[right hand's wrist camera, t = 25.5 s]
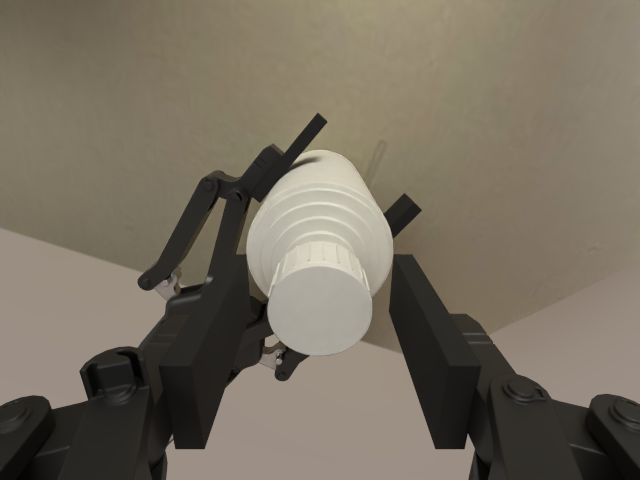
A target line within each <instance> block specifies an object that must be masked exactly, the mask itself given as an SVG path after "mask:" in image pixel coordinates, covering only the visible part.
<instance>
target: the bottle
mask: <svg viewBox="0 0 640 480" xmlns="http://www.w3.org/2000/svg"><path fill="white" fill-rule="evenodd" d="M310 241H311V242H315V241H325V242H331V243H335V244H336V243H337V244H338V245H340V246H342V247H344V248H346V249H347V250H348V249H349V250H350V252H351V253H352V254H353V255H354V256H355V257H356V258H358V259H359V262H360V264H361V266H362V269H364V270H365V274H366V277H367V281H368V285H369V288H370V296H371V298H372V297H373V296H374V295H375V294H376V293H377V291H378V290H379V289H380V288H381V286H382V285H383V283H384V282H385V280H386V278H387V276H388V274H389V271H390V268H391V265H392V260H393V238H392V234H391V230H390V227H389V225H388V223H387V220H386V218H385V217H384V215H383V213H382V212H381V210H380V208H379V207H378V205H377V203H376V201H375V200H374V198H373V196H372V195H371V193H370V191H369V190H368V188H367V186H366V185H365V183H364V181H363V179H362V178H361V176H360V174H359V173H358V171H357V169H356V168H355V167H354V165H353V164H352V163H351V162H350V161H349V160H348V159H346V158H345V157H343V156H342V155H340V154H338V153H335V152H332V151H328V150H312V151H308V152H305V153H302V154H300V155H299V157H298V158H297V159H296V160H295V161H294V163H293V164H292V165H291V166H290V167H289V169H288V170H287V171H286V172H285V173H284V175H283V176H282V177H281V178H280V179H279V181H278V182H277V183H276V184H275V185H274V186H273V188H272V189H271V191H270V193H269V194H268V196H267V198H266V199H265V201H264V203H263V204H262V206H261V208H260V209H259V211H258V213H257V214H256V216H255V218H254V220H253V222H252V224H251V226H250V229H249V233H248V237H247V244H246V255H247V262H248V266H249V269H250V272H251V274H252V276H253V279H254V280H255V282H256V284H257V285H258V287H259V288H260V289H261V291H262V292H263V293H264V294H265V295H266V296H267V297H268V294H269V291H270V287H271V283H272V280H273V276H274V274H275V272H276V269H277V265H278V263H280V262H281V260H282V259H283V258H284V257H285V254H286V253H287V254H288V253H289V252H290V251H291V250H293V249H294V248H296V246H300V245H302V244H305V243H309V242H310Z"/></svg>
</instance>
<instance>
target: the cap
mask: <svg viewBox="0 0 640 480" xmlns="http://www.w3.org/2000/svg"><path fill="white" fill-rule="evenodd" d="M268 298H269V301H268V306H267V315H268V321H269V324H270V326H271V328H272V330H273V332H274V334H275V335H276V336H277V338H278V339H279V340H280V341H281V342H282V343H284V344H285V345H286V346H288V347H289V348H291V349H293V350H295V351H297V352H300V353H302V354H306V355H312V356H328V355H334V354H337V353H340V352H343V351H345V350H347V349H349V348H351V347H352V346H353V345H355V344H356V343H357V342H358V341H359V340H360V339H361V338H362V337H363V336H364V335H365V333H366V331H367V330H368V328H369V325H370V323H371V319H372V299H371V296H370V288H369V285H368V281H367V277H366V274H365V270H364V269H362V266H361V264H360V262H359V259H358V258H356V257H355V256H354V255H353V254H352V253H351V252H350V250H349V249H348V250H347V249H346V248H344V247H342V246H340V245H338V244H337V243H336V244H335V243H331V242H325V241H315V242H311V241H310V242H309V243H305V244H302V245H300V246H296V248H294V249H293V250H291V251H290V252H289V253H288V254H287V253H286V254H285V257H284V258H283V259H282V260H281V262H280V263H278V265H277V269H276V272H275V274H274V276H273V280H272V283H271V287H270V291H269V294H268Z"/></svg>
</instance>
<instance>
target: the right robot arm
mask: <svg viewBox="0 0 640 480" xmlns="http://www.w3.org/2000/svg"><path fill="white" fill-rule="evenodd" d="M250 313H251V306H250V294H249V282H248V270H247V257H246V255H227V257H226V258H225V260H224V261H223V263H222V265H221V266H220V268H219V269H218V271H217V273H216V274H215V276H214V277H213V279H212V281H211V282H210V284H209V285H208V287H207V289H206V290H205V292H204V293H203V295H202V297H201V298H200V300H199V301H198V303H197V305H196V306H195V308H194V309H193V311H192V313H191V314H190V315H173V316H172V317H171V318H169V319H168V320H166V321H165V322H164V323H162V324H161V325H160V327H159V328H158V329H157V331H156V332H155V333H154V337H152V338H151V339H150V340H149V342H148V343H147V345H146V346H145V347H144V348H143V350H142V351H141V350H140V349H139V348H135V347H130V346H128V347H117V348H114V349H110V350H107V351H104V352H102V353H100V354H98V355H96V356H94V357H93V358H92V359H90V360H89V361H88V362H86V363H85V364H84V366H83V367H82V368H81V370H80V375H81V378H82V381H83V384H84V387H85V391H86V394H87V397H88V401H85V402H82V403H78V404H73V405H69V406H65V407H61V408H56V409H51V406H50V403H49V401H48V400H47V399H46V398H44V397H43V396H34V395H33V396H27V397H21V398H18V399H15V400H13V401H10V402H7V403H5V404H3V405H2V406H0V480H166V474H167V457H166V452H165V449H166V447H167V445H168V443H169V440H170V438H171V436H172V434H173V439H174V444H175V449H205V446H206V443H207V440H208V437H209V434H210V431H211V428H212V425H213V422H214V419H215V416H216V413H217V411H218V408H219V405H220V402H221V399H222V396H223V393H224V390H225V387H226V384H227V381H228V378H229V375H230V372H231V369H232V366H233V363H234V360H235V357H236V354H237V351H238V348H239V346H240V343H241V340H242V337H243V334H244V331H245V328H246V325H247V322H248V319H249V316H250ZM389 313H390V316H391V319H392V322H393V325H394V328H395V331H396V334H397V337H398V340H399V343H400V346H401V348H402V351H403V354H404V357H405V360H406V363H407V366H408V369H409V372H410V375H411V378H412V381H413V384H414V387H415V390H416V393H417V396H418V399H419V402H420V405H421V408H422V411H423V414H424V416H425V419H426V422H427V425H428V428H429V431H430V434H431V437H432V440H433V443H434V446H435V449H465V444H466V439H467V434H469V436H470V439H471V441H472V443H473V445H474V447H475V452H474V456H473V461H472V465H471V470H470V474H469V480H640V404H638V403H636V402H634V401H632V400H629V399H626V398H624V397H621V396H616V395H610V394H603V395H597V396H595V397H594V398H593V399H592V400H591V403H590V406H589V408H586V407H581V406H577V405H573V404H568V403H564V402H560V401H557V400H553V399H551V397H550V396H549V394H548V393H547V391H546V390H545V389H544V388H542V387H541V386H540V385H539V384H538V383H536V382H534V381H532V380H531V379H529V378H527V377H524V376H521V375H517V374H516V373H515V371H514V370H513V369H512V367H511V366H510V365H509V363H508V362H507V361H506V359H505V358H504V356H503V355H502V354H501V352H500V351H499V350H498V348H497V347H496V346H495V344H493V342H492V340H491V339H490V337H489V336H488V335H486V332H485V331H484V329H483V328H482V327H481V325H480V324H479V323H478V322H477V321H475V320H474V319H473V318H471V317H470V316H468V315H467V314H449V313H448V311H447V309H446V308H445V306H444V305H443V303H442V301H441V300H440V298H439V297H438V295H437V293H436V292H435V290H434V289H433V287H432V285H431V284H430V282H429V281H428V279H427V277H426V276H425V274H424V273H423V271H422V269H421V268H420V266H419V265H418V263H417V261H416V260H415V258H414V257H413V255H394V257H393V270H392V282H391V294H390V306H389Z"/></svg>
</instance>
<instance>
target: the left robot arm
mask: <svg viewBox="0 0 640 480" xmlns="http://www.w3.org/2000/svg"><path fill="white" fill-rule="evenodd" d="M326 123H327V121H326V120H325V119H324V118H323V117H322V116H321V115H320V114H319V113H317V114H316V116H315V117H314V118H313V119H312V120H311V122H310V123H309V124H308V125H307V127H306V128H305V129H304V130H303V131H302V133H301V134H300V135H299V136H298V138H297V139H296V140H295V141H294V142H293V144H292V145H291V146H290V147H289V149H288V150H287V151H286V152H285V153H284V152H283V151H281V150H280V149H279V148H278V147H277V146H276V145H274V144H272V145H270V146H268V147H266V148H265V149H263V151H262V152H261V153H260V154H259V156H258V157H257V158H256V159H255V161H254V162H253V163H252V164H251V166H250V167H249V168H248V169H247V171H246V172H245V173H244V174H243V176H242V177H239V178H235V177H231V176H229V175H226V174H225V173H224V172H223V171H220V170H216V171H214V172H212V173H210V174H209V175H207V176H206V177H204V178H202V179H201V181H200V182H199V184H198V186H197V188H196V190H195V192H194V194H193V196H192V197H191V199H190V201H189V203H188V205H187V207H186V209H185V211H184V213H183V215H182V216H181V218H180V220H179V222H178V224H177V226H176V228H175V230H174V232H173V233H172V235H171V237H170V239H169V241H168V243H167V245H166V247H165V249H164V251H163V252H162V254H161V256H160V258H159V260H158V261H157V262H155V263H154V264H153V265H152V266H151V267H150V268H149V269H148V270H147V271H146V272H145V273H144V274H142V275H141V276H140V278H139V279H138V285H139V287H140V288H142V289H143V290H146V291H148V290H152V289H153V288H154V289H155V290H156V291H157V292H158V293H159V294H160V295H161V296H162V297H163V298H164V299H166V300H167V303H166V311H165V315H164V316H163V317H162V318H161V320H160V321H159V322H158V323H157V324H156V326H155V327H154V328H153V329H152V330H151V332H150V333H149V334H148V335H147V336H146V338H145V339H144V340H143V341H142V342H141V344H140V345H139V347H138V348H139V349H140V350H141V351H142V350H143V348H144V347H145V346H146V345H147V343H148V342H149V340H150V339H151V338H152V337H154V333H155V332H156V331H157V329H158V328H159V327H160V325H161V324H162V323H164V322H165V321H166V320H168V319H169V318H171V317H172V316H173V315H190V314H191V313H192V311H193V309H194V308H195V306H196V305H197V303H198V301H199V300H200V298H201V297H202V295H203V293H204V292H205V290H206V289H207V287H208V285H209V284H210V282H211V281H212V279H213V277H214V276H215V274H216V273H217V271H218V269H219V268H220V266H221V265H222V263H223V261H224V260H225V258H226V257H227V255H235V254H236V251H237V247H238V244H239V240H240V237H241V233H242V230H243V226H244V223H245V219H246V216H247V212H248V209H249V205H250V202H251V198H252V197H253V198H255V199H256V200H257V201H258V202H259V203H260V202H261V201H262V200H263V198H264V197H265V196H266V195H267V194H268V192H269V191H270V190H271V189H272V188H273V186H274V185H275V184H276V183H277V182H278V181H279V179H280V178H281V177H282V176H283V175H284V173H285V172H286V171H287V170H288V169H289V167H290V166H291V165H292V164H293V163H294V161H295V160H296V159H297V158H298V157H299V155H300V154H301V153H302V152H303V151H304V149H305V148H306V147H307V146H308V145H309V143H310V142H311V141H312V140H313V139H314V137H315V136H316V135H317V134H318V133H319V131H320V130H321V129H322V128H323V127H324V125H325V124H326ZM219 197H221V198H224V199H227V201H226V205H225V209H224V213H223V217H222V221H221V225H220V229H219V232H218V236H217V240H216V244H215V248H214V252H213V256H212V259H211V263H210V267H209V271H208V275H207V277H206V280H205V282H204V283H203V284H198V285H194V286H189V287H184V288H180V286H179V284H178V281H179V279H180V278H181V275H182V273H181V268H180V267H179V266H178V265H179V264H180V263H181V262H182V261H183V260H184V258H185V257H186V255H187V254H188V252H189V250H190V249H191V247H192V245H193V243H194V241H195V240H196V238H197V236H198V234H199V232H200V231H201V229H202V227H203V225H204V223H205V222H206V220H207V218H208V216H209V214H210V213H211V211H212V209H213V207H214V205H215V204H216V202H217V200H218V198H219ZM421 211H422V210H421V209H420V208H419V207H418V206H417V205H416V204H415V203H414V202H413V201H412V200H411V199H410V198H409V197H408V196H407V195H406V194H405V193H404V194H403V195H402V196H401V197H400V198H399V199H398V200H397V201H396V202H395V203H394V204H393V205H392V206H391V207H390V208H389V209H388V210H387V211H386V212H385V213H384V214H383V215H384V217H385V218H386V220H387V223H388V225H389V227H390V230H391V234H392V238H394V237H395V236H396V235H397V234H398V233H399V232H400V231H401V230H402V229H403V228H404V227H405V226H406V225H408V224H409V223H410V222H411V221H412V220H413V219H414V218H415V217H416V216H417V215H418V214H419V213H420V212H421ZM268 301H269V299H267V300H265V301H263V302H260V301H259V300H258V299H256V298H255V297H253V296H250V306H251V313H250V316H249V319H248V322H247V325H246V328H245V331H244V334H243V337H242V340H241V343H240V346H239V348H238V351H237V354H236V357H235V360H234V363H233V366H232V369H231V372H230V375H229V378H228V381H227V384H226V387H227V386H228V385H229V384H230V383H231V382H232V381H233V380H234V379H235V377H236V376H237V375H238V374H239V373H240V372H241V371H242V370H243V369H245V368H247V367H250V366H253V365H255V364H257V363H261V364H263V365H265V366H267V367H270V368H272V369H274V370H275V378H276V379H277V380H279V381H286V380H288V379H289V377H290V376H291V374H292V373H293V371H294V370H295V368H296V367H297V366H298V364H299V363H300V362H302V361H303V360H304V359H306V358H307V357H309V356H310V355H306V354H302V353H300V352H297V351H295V350H293V349H291V348H289V347H288V346H286V345H285V344H284V343H282V342H281V341H279V343H277V344H275V345H274V346H273V347H265V338H266V337H268V336H271V335H273V334H274V332H273V330H272V328H271V326H270V324H269V321H268V315H267V306H268ZM226 387H225V388H226ZM173 440H174V439H173V434H172V436H171V438H170V440H169V443H168V445H169V444H170V443H171V442H172V441H173ZM168 445H167V446H168Z"/></svg>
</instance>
